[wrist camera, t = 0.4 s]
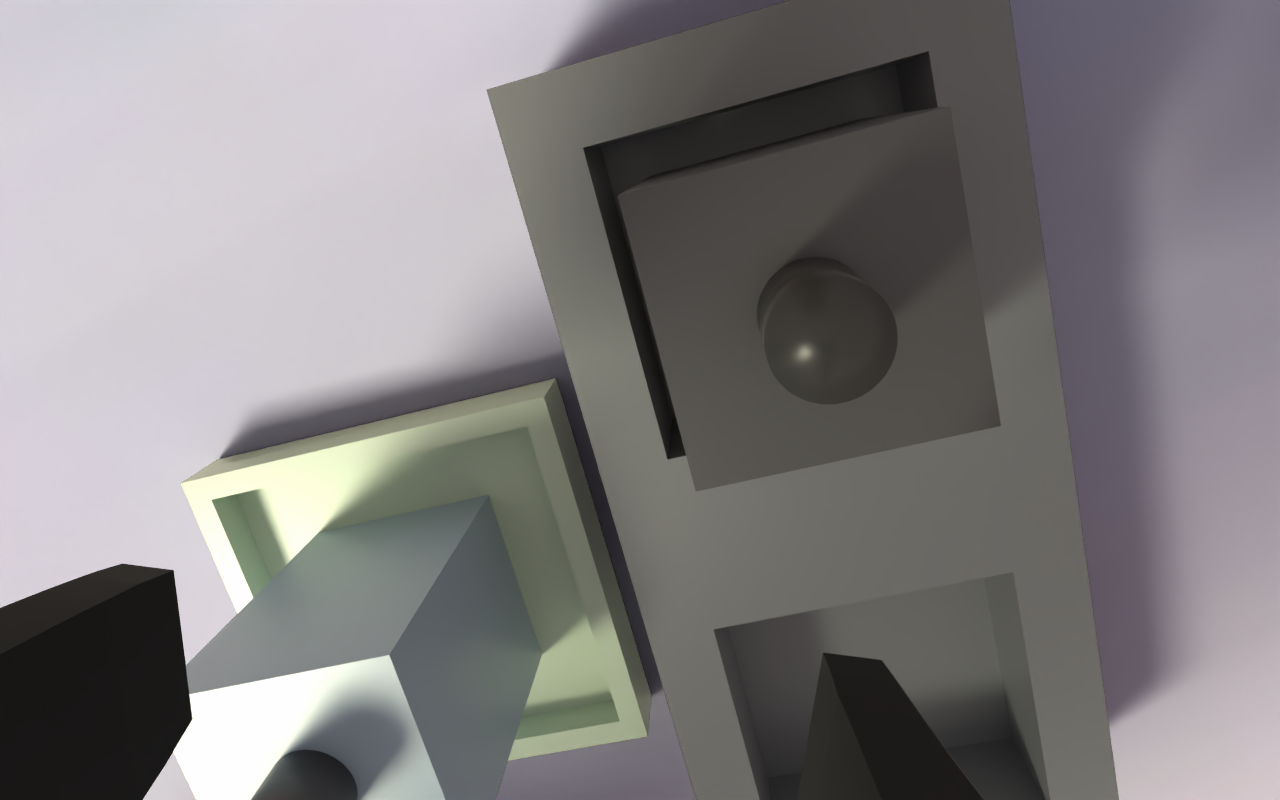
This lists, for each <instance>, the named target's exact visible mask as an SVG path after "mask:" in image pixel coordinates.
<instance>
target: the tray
mask: <svg viewBox="0 0 1280 800" xmlns="http://www.w3.org/2000/svg"><path fill="white" fill-rule="evenodd" d="M181 485H182V487H183V490H184V492H185V494H186V496H187V499H188V501H189V503H190V506H191V508H192V510H193V513H194V515H195V517H196V519H197V522H198V524H199V526H200V529H201V531H202V533H203V535H204V538H205V540H206V542H207V545H208V547H209V549H210V552H211V554H212V556H213V558H214V561H215V563H216V565H217V568H218V570H219V572H220V574H221V577H222V579H223V581H224V584H225V586H226V588H227V590H228V593H229V595H230V597H231V600H232V602H233V604H234V607H235V609H236V611H237V613H239V612H240V611H241V610H242V609H243V608H244V607H245V606H246V605H247V604H248V603H249V602H250V601H251V600H252V599H253V598H254V597H255V596H256V595H257V594H258V593H259V592H260V591H261V590H262V589H263V588H264V587H265V586H266V585H267V584H268V583H269V582H270V581H271V580H272V579H273V578H274V577H275V576H276V575H277V574H278V573H279V572H280V571H281V570H282V569H283V568H284V567H285V566H286V565H287V564H288V563H289V562H290V561H291V560H292V559H293V558H294V557H295V556H296V555H297V554H298V552H299V551H300V550H301V549H302V548H303V547H304V546H305V545H306V544H307V543H308V542H309V541H310V540H311V539H312V538H313V537H314V536H315V535H316V534H317V533H319V532H323V531H328V530H332V529H337V528H341V527H346V526H350V525H355V524H359V523H364V522H368V521H373V520H377V519H382V518H386V517H391V516H395V515H400V514H404V513H408V512H413V511H417V510H422V509H426V508H431V507H435V506H440V505H444V504H449V503H453V502H458V501H462V500H467V499H471V498H476V497H480V496H485V495H489V497H490V500H491V503H492V506H493V509H494V512H495V515H496V518H497V521H498V524H499V527H500V530H501V533H502V536H503V539H504V542H505V545H506V548H507V551H508V554H509V557H510V560H511V563H512V566H513V569H514V572H515V575H516V578H517V581H518V584H519V587H520V590H521V593H522V596H523V599H524V602H525V605H526V608H527V611H528V614H529V617H530V620H531V623H532V626H533V629H534V632H535V635H536V638H537V641H538V644H539V647H540V650H541V653H542V656H541V659H540V663H539V666H538V669H537V672H536V675H535V678H534V681H533V684H532V687H531V690H530V694H529V697H528V700H527V703H526V706H525V709H524V712H523V715H522V718H521V721H520V724H519V728H518V731H517V734H516V737H515V740H514V743H513V746H512V749H511V752H510V755H509V759H508V761H510V760H516V759H521V758H527V757H533V756H538V755H544V754H550V753H556V752H561V751H567V750H573V749H579V748H584V747H590V746H596V745H602V744H607V743H613V742H619V741H624V740H630V739H636V738H642V737H647V736H648V728H649V718H650V708H651V699H652V697H651V693H650V690H649V687H648V683H647V680H646V677H645V673H644V670H643V667H642V663H641V660H640V657H639V653H638V650H637V647H636V643H635V640H634V637H633V633H632V630H631V627H630V623H629V620H628V617H627V613H626V610H625V607H624V603H623V600H622V597H621V593H620V590H619V587H618V583H617V580H616V577H615V573H614V570H613V567H612V563H611V560H610V557H609V553H608V550H607V547H606V543H605V540H604V537H603V533H602V530H601V527H600V523H599V520H598V517H597V513H596V510H595V507H594V503H593V500H592V497H591V493H590V490H589V487H588V483H587V480H586V477H585V473H584V470H583V467H582V463H581V460H580V457H579V453H578V450H577V447H576V443H575V440H574V437H573V433H572V430H571V427H570V423H569V420H568V417H567V413H566V410H565V407H564V403H563V400H562V397H561V393H560V390H559V387H558V383H557V380H556V378H554V379H550V380H546V381H542V382H538V383H534V384H529V385H525V386H521V387H517V388H513V389H509V390H505V391H500V392H496V393H492V394H488V395H484V396H480V397H475V398H471V399H467V400H463V401H459V402H455V403H450V404H446V405H442V406H438V407H434V408H430V409H426V410H421V411H417V412H413V413H409V414H405V415H401V416H396V417H392V418H388V419H384V420H380V421H376V422H371V423H367V424H363V425H359V426H355V427H351V428H346V429H342V430H338V431H334V432H330V433H326V434H322V435H317V436H313V437H309V438H305V439H301V440H297V441H292V442H288V443H284V444H280V445H276V446H272V447H267V448H263V449H259V450H255V451H251V452H247V453H243V454H238V455H234V456H230V457H226V458H222V459H218V460H216V461H214V462H213V463H211V464H210V465H208V466H207V467H205V468H204V469H202V470H200V471H199V472H197V473H196V474H194V475H193V476H191V477H190V478H188V479H187V480H185V481H184V482H182V483H181Z"/></svg>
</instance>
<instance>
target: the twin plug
mask: <svg viewBox="0 0 1280 800" xmlns="http://www.w3.org/2000/svg"><path fill="white" fill-rule="evenodd" d="M618 200H619V204H620V208H621V211H622V215H623V219H624V223H625V226H626V230H627V234H628V238H629V242H630V245H631V249H632V253H633V257H634V260H635V264H636V268H637V272H638V276H639V279H640V283H641V287H642V291H643V294H644V298H645V302H646V306H647V310H648V313H649V317H650V321H651V325H652V328H653V332H654V336H655V340H656V344H657V347H658V351H659V355H660V359H661V362H662V366H663V370H664V374H665V378H666V381H667V385H668V389H669V393H670V396H671V400H672V404H673V408H674V412H675V415H676V419H677V423H678V427H679V430H680V434H681V438H682V442H683V446H684V449H685V453H686V457H687V461H688V464H689V468H690V472H691V476H692V480H693V483H694V487H695V491H696V492H697V491H701V490H706V489H711V488H715V487H720V486H725V485H729V484H734V483H739V482H743V481H748V480H752V479H757V478H762V477H766V476H771V475H776V474H780V473H785V472H790V471H794V470H799V469H804V468H808V467H813V466H818V465H822V464H827V463H831V462H836V461H841V460H845V459H850V458H855V457H859V456H864V455H869V454H873V453H878V452H883V451H887V450H892V449H897V448H901V447H906V446H911V445H915V444H920V443H924V442H929V441H934V440H938V439H943V438H948V437H952V436H957V435H962V434H966V433H971V432H976V431H980V430H985V429H990V428H994V427H999V426H1001V422H1000V416H999V410H998V403H997V397H996V391H995V384H994V378H993V372H992V365H991V359H990V353H989V347H988V340H987V334H986V328H985V321H984V315H983V309H982V302H981V296H980V290H979V284H978V277H977V271H976V265H975V258H974V252H973V246H972V239H971V233H970V227H969V221H968V214H967V208H966V202H965V195H964V189H963V183H962V176H961V170H960V164H959V158H958V151H957V145H956V139H955V132H954V126H953V120H952V113H951V107H950V106H946V107H939V108H932V109H925V110H918V111H911V112H904V113H897V114H890V115H883V116H876V117H870V118H863V119H858V120H855V121H851V122H847V123H844V124H840V125H836V126H833V127H829V128H825V129H822V130H818V131H814V132H811V133H807V134H803V135H800V136H796V137H792V138H788V139H785V140H781V141H777V142H774V143H770V144H766V145H763V146H759V147H755V148H752V149H748V150H744V151H741V152H737V153H733V154H730V155H726V156H722V157H718V158H715V159H711V160H707V161H704V162H700V163H696V164H693V165H689V166H685V167H682V168H678V169H674V170H671V171H667V172H663V173H660V174H656V175H652V176H649V177H647V178H646V179H644V180H642V181H641V182H639V183H637V184H636V185H634V186H632V187H631V188H629V189H628V190H626V191H624V192H623V193H621V194H619V195H618Z"/></svg>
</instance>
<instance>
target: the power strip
mask: <svg viewBox="0 0 1280 800" xmlns="http://www.w3.org/2000/svg"><path fill="white" fill-rule="evenodd" d="M487 93H488V96H489V100H490V103H491V106H492V110H493V113H494V117H495V120H496V123H497V127H498V130H499V134H500V137H501V140H502V144H503V147H504V150H505V154H506V157H507V161H508V164H509V167H510V171H511V174H512V178H513V181H514V184H515V188H516V191H517V195H518V198H519V201H520V205H521V208H522V211H523V215H524V218H525V222H526V225H527V228H528V232H529V235H530V239H531V242H532V245H533V249H534V252H535V256H536V259H537V262H538V266H539V269H540V272H541V276H542V279H543V283H544V286H545V289H546V293H547V296H548V300H549V303H550V306H551V310H552V313H553V317H554V320H555V323H556V327H557V330H558V333H559V337H560V340H561V344H562V347H563V350H564V354H565V357H566V361H567V364H568V367H569V371H570V374H571V378H572V381H573V384H574V388H575V391H576V394H577V398H578V401H579V405H580V408H581V411H582V415H583V418H584V422H585V425H586V428H587V432H588V435H589V439H590V442H591V445H592V449H593V452H594V455H595V459H596V462H597V466H598V469H599V472H600V476H601V479H602V483H603V486H604V489H605V493H606V496H607V500H608V503H609V506H610V510H611V513H612V517H613V520H614V523H615V527H616V530H617V533H618V537H619V540H620V544H621V547H622V550H623V554H624V557H625V561H626V564H627V567H628V571H629V574H630V578H631V581H632V584H633V588H634V591H635V594H636V598H637V601H638V605H639V608H640V611H641V615H642V618H643V622H644V625H645V628H646V632H647V635H648V639H649V642H650V645H651V649H652V652H653V655H654V659H655V662H656V666H657V669H658V672H659V676H660V679H661V683H662V686H663V689H664V693H665V696H666V700H667V703H668V706H669V710H670V713H671V716H672V720H673V723H674V727H675V730H676V733H677V737H678V740H679V744H680V747H681V750H682V754H683V757H684V761H685V764H686V767H687V771H688V774H689V777H690V781H691V784H692V788H693V791H694V794H695V798H696V800H797V796H798V790H799V785H800V779H801V774H802V768H803V762H804V757H805V751H806V745H807V740H808V734H809V729H810V723H811V717H812V712H813V706H814V700H815V695H816V689H817V683H818V678H819V672H820V667H821V661H822V655H823V653H831V654H839V655H847V656H855V657H863V658H870V659H878V660H882V661H883V662H884V664H885V665H886V666H887V668H888V669H889V670H890V672H891V673H892V674H893V676H894V677H895V678H896V680H897V681H898V683H899V684H900V685H901V687H902V688H903V690H904V691H905V692H906V694H907V695H908V697H909V698H910V700H911V701H912V702H913V704H914V705H915V707H916V708H917V709H918V711H919V712H920V714H921V715H922V716H923V718H924V719H925V721H926V722H927V723H928V725H929V726H930V728H931V729H932V730H933V732H934V733H935V735H936V736H937V737H938V739H939V740H940V741H941V743H942V744H943V745H944V747H945V748H946V750H947V751H948V752H949V754H950V755H951V756H952V758H953V759H954V760H955V762H956V763H957V764H958V766H959V767H960V768H961V770H962V771H963V772H964V774H965V775H966V776H967V778H968V779H969V780H970V782H971V783H972V784H973V786H974V787H975V788H976V789H977V791H978V792H979V793H980V794H981V796H982V797H983V798H984V800H1119V797H1118V789H1117V782H1116V775H1115V768H1114V760H1113V753H1112V746H1111V738H1110V731H1109V724H1108V716H1107V709H1106V702H1105V694H1104V687H1103V680H1102V673H1101V665H1100V658H1099V651H1098V643H1097V636H1096V629H1095V621H1094V614H1093V607H1092V600H1091V592H1090V585H1089V578H1088V570H1087V563H1086V556H1085V548H1084V541H1083V534H1082V526H1081V519H1080V512H1079V505H1078V497H1077V490H1076V483H1075V475H1074V468H1073V461H1072V453H1071V446H1070V439H1069V431H1068V424H1067V417H1066V410H1065V402H1064V395H1063V388H1062V380H1061V373H1060V366H1059V358H1058V351H1057V344H1056V337H1055V329H1054V322H1053V315H1052V307H1051V300H1050V293H1049V285H1048V278H1047V271H1046V263H1045V256H1044V249H1043V242H1042V234H1041V227H1040V220H1039V212H1038V205H1037V198H1036V190H1035V183H1034V176H1033V169H1032V161H1031V154H1030V147H1029V139H1028V132H1027V125H1026V117H1025V110H1024V103H1023V95H1022V88H1021V81H1020V74H1019V66H1018V59H1017V52H1016V44H1015V37H1014V30H1013V22H1012V15H1011V8H1010V0H789V1H786V2H782V3H779V4H776V5H772V6H769V7H765V8H762V9H759V10H755V11H752V12H748V13H745V14H742V15H738V16H735V17H731V18H728V19H725V20H721V21H718V22H715V23H711V24H708V25H704V26H701V27H698V28H694V29H691V30H687V31H684V32H681V33H677V34H674V35H670V36H667V37H664V38H660V39H657V40H654V41H650V42H647V43H643V44H640V45H637V46H633V47H630V48H626V49H623V50H620V51H616V52H613V53H609V54H606V55H603V56H599V57H596V58H592V59H589V60H586V61H582V62H579V63H576V64H572V65H569V66H565V67H562V68H559V69H555V70H552V71H548V72H545V73H542V74H538V75H535V76H531V77H528V78H525V79H521V80H518V81H514V82H511V83H508V84H504V85H501V86H498V87H494V88H491V89H487ZM946 106H950V107H951V113H952V120H953V126H954V132H955V139H956V145H957V151H958V158H959V164H960V170H961V176H962V183H963V189H964V195H965V202H966V208H967V214H968V221H969V227H970V233H971V239H972V246H973V252H974V258H975V265H976V271H977V277H978V284H979V290H980V296H981V302H982V309H983V315H984V321H985V328H986V334H987V340H988V347H989V353H990V359H991V365H992V372H993V378H994V384H995V391H996V397H997V403H998V410H999V416H1000V422H1001V426H999V427H994V428H990V429H985V430H980V431H976V432H971V433H966V434H962V435H957V436H952V437H948V438H943V439H938V440H934V441H929V442H924V443H920V444H915V445H911V446H906V447H901V448H897V449H892V450H887V451H883V452H878V453H873V454H869V455H864V456H859V457H855V458H850V459H845V460H841V461H836V462H831V463H827V464H822V465H818V466H813V467H808V468H804V469H799V470H794V471H790V472H785V473H780V474H776V475H771V476H766V477H762V478H757V479H752V480H748V481H743V482H739V483H734V484H729V485H725V486H720V487H715V488H711V489H706V490H701V491H697V492H696V491H695V487H694V483H693V480H692V476H691V472H690V468H689V464H688V461H687V457H686V453H685V449H684V446H683V442H682V438H681V434H680V430H679V427H678V423H677V419H676V415H675V412H674V408H673V404H672V400H671V396H670V393H669V389H668V385H667V381H666V378H665V374H664V370H663V366H662V362H661V359H660V355H659V351H658V347H657V344H656V340H655V336H654V332H653V328H652V325H651V321H650V317H649V313H648V310H647V306H646V302H645V298H644V294H643V291H642V287H641V283H640V279H639V276H638V272H637V268H636V264H635V260H634V257H633V253H632V249H631V245H630V242H629V238H628V234H627V230H626V226H625V223H624V219H623V215H622V211H621V208H620V204H619V200H618V195H619V194H621V193H623V192H624V191H626V190H628V189H629V188H631V187H632V186H634V185H636V184H637V183H639V182H641V181H642V180H644V179H646V178H647V177H649V176H652V175H656V174H660V173H663V172H667V171H671V170H674V169H678V168H682V167H685V166H689V165H693V164H696V163H700V162H704V161H707V160H711V159H715V158H718V157H722V156H726V155H730V154H733V153H737V152H741V151H744V150H748V149H752V148H755V147H759V146H763V145H766V144H770V143H774V142H777V141H781V140H785V139H788V138H792V137H796V136H800V135H803V134H807V133H811V132H814V131H818V130H822V129H825V128H829V127H833V126H836V125H840V124H844V123H847V122H851V121H855V120H858V119H863V118H870V117H876V116H883V115H890V114H897V113H904V112H911V111H918V110H925V109H932V108H939V107H946Z"/></svg>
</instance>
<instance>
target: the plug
mask: <svg viewBox="0 0 1280 800" xmlns="http://www.w3.org/2000/svg"><path fill="white" fill-rule="evenodd" d="M541 656H542V653H541V650H540V647H539V644H538V641H537V638H536V635H535V632H534V629H533V626H532V623H531V620H530V617H529V614H528V611H527V608H526V605H525V602H524V599H523V596H522V593H521V590H520V587H519V584H518V581H517V578H516V575H515V572H514V569H513V566H512V563H511V560H510V557H509V554H508V551H507V548H506V545H505V542H504V539H503V536H502V533H501V530H500V527H499V524H498V521H497V518H496V515H495V512H494V509H493V506H492V503H491V500H490V497H489V495H485V496H480V497H476V498H471V499H467V500H462V501H458V502H453V503H449V504H444V505H440V506H435V507H431V508H426V509H422V510H417V511H413V512H408V513H404V514H400V515H395V516H391V517H386V518H382V519H377V520H373V521H368V522H364V523H359V524H355V525H350V526H346V527H341V528H337V529H332V530H328V531H323V532H319V533H317V534H316V535H315V536H314V537H313V538H312V539H311V540H310V541H309V542H308V543H307V544H306V545H305V546H304V547H303V548H302V549H301V550H300V551H299V552H298V554H297V555H296V556H295V557H294V558H293V559H292V560H291V561H290V562H289V563H288V564H287V565H286V566H285V567H284V568H283V569H282V570H281V571H280V572H279V573H278V574H277V575H276V576H275V577H274V578H273V579H272V580H271V581H270V582H269V583H268V584H267V585H266V586H265V587H264V588H263V589H262V590H261V591H260V592H259V593H258V594H257V595H256V596H255V597H254V598H253V599H252V600H251V601H250V602H249V603H248V604H247V605H246V606H245V607H244V608H243V609H242V610H241V611H240V612H239V613H238V614H237V615H236V616H235V617H234V618H233V619H232V620H231V621H230V622H229V623H228V624H227V625H226V626H225V627H224V628H223V629H222V630H221V631H220V632H219V633H218V634H217V635H216V636H215V637H214V638H213V639H212V640H211V641H210V642H209V643H208V644H207V645H206V646H205V647H204V648H203V649H202V650H201V651H200V652H199V653H198V654H197V655H196V656H195V657H194V658H193V659H192V660H191V661H190V662H189V663H188V664H187V665H186V672H187V680H188V687H189V695H190V703H191V711H192V718H193V719H192V721H191V723H190V724H189V726H188V728H187V729H186V731H185V733H184V734H183V736H182V738H181V739H180V741H179V743H178V744H177V746H176V748H175V749H174V751H173V752H174V754H175V756H176V758H177V760H178V763H179V765H180V767H181V769H182V771H183V773H184V775H185V777H186V779H187V781H188V783H189V785H190V787H191V790H192V792H193V794H194V796H195V798H196V800H495V799H496V796H497V793H498V789H499V786H500V783H501V780H502V777H503V774H504V771H505V768H506V765H507V762H508V759H509V755H510V752H511V749H512V746H513V743H514V740H515V737H516V734H517V731H518V728H519V724H520V721H521V718H522V715H523V712H524V709H525V706H526V703H527V700H528V697H529V694H530V690H531V687H532V684H533V681H534V678H535V675H536V672H537V669H538V666H539V663H540V659H541Z"/></svg>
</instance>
